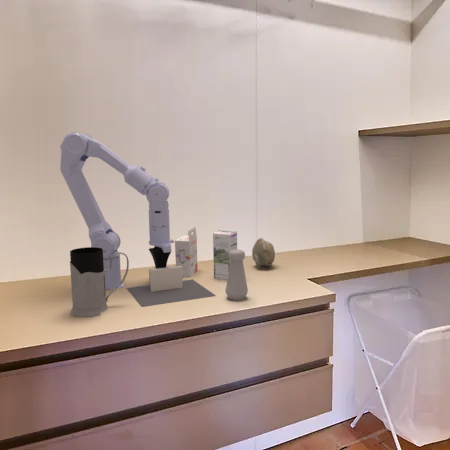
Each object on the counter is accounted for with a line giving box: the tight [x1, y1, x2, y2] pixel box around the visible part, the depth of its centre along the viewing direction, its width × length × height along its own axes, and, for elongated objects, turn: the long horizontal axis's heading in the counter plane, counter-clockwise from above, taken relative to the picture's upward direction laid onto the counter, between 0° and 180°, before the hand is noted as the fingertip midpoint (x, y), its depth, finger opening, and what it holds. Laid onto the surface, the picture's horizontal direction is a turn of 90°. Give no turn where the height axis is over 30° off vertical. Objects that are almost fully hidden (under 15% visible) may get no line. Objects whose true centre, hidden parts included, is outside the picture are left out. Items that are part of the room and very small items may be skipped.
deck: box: [148, 265, 184, 292], centre depth 124 cm, size 9×2×6 cm, turn 114°
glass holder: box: [69, 246, 130, 318], centre depth 109 cm, size 9×14×15 cm, turn 114°
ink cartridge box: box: [174, 226, 198, 278], centre depth 141 cm, size 9×5×15 cm, turn 168°
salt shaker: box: [224, 249, 249, 302], centre depth 115 cm, size 6×6×13 cm
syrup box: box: [212, 229, 238, 281], centre depth 135 cm, size 6×6×14 cm
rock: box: [251, 237, 276, 268], centre depth 149 cm, size 9×8×10 cm
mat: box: [125, 278, 217, 308], centre depth 122 cm, size 20×18×1 cm
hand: (160, 272), depth 129 cm, fingers closed
